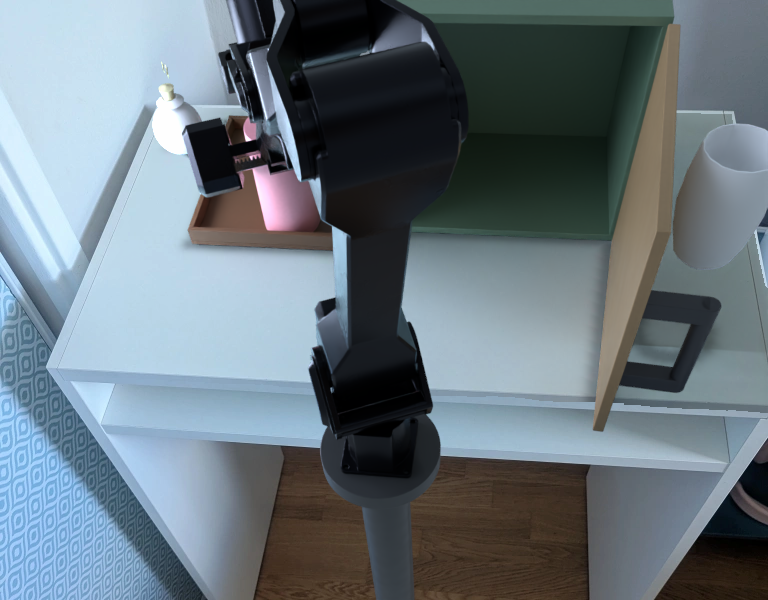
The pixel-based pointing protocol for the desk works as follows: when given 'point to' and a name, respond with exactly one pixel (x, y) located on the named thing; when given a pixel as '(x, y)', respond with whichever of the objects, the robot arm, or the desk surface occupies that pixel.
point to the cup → (722, 196)
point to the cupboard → (545, 112)
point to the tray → (247, 215)
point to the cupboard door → (648, 256)
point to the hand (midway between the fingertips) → (281, 159)
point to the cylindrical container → (283, 196)
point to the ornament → (172, 118)
